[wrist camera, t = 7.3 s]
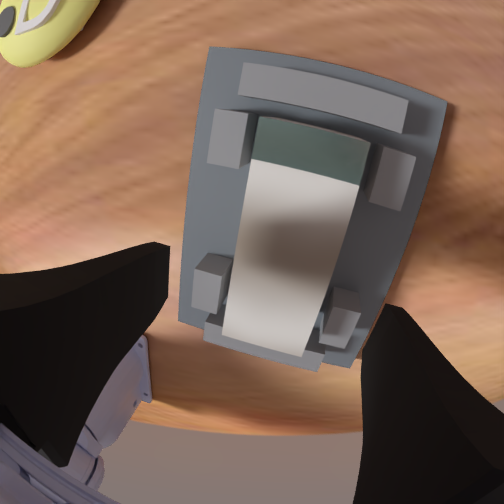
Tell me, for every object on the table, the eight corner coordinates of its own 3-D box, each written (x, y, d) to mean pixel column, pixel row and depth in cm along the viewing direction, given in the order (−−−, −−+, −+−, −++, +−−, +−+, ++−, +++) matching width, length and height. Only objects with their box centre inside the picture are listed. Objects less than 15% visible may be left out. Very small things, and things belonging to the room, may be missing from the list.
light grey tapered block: (308, 310, 18) (301, 357, 14) (242, 292, 18) (221, 334, 15) (358, 137, 13) (370, 143, 10) (276, 117, 14) (259, 116, 10)
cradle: (349, 358, 20) (349, 390, 17) (183, 312, 21) (165, 338, 19) (440, 102, 12) (463, 100, 9) (216, 50, 14) (193, 38, 11)
